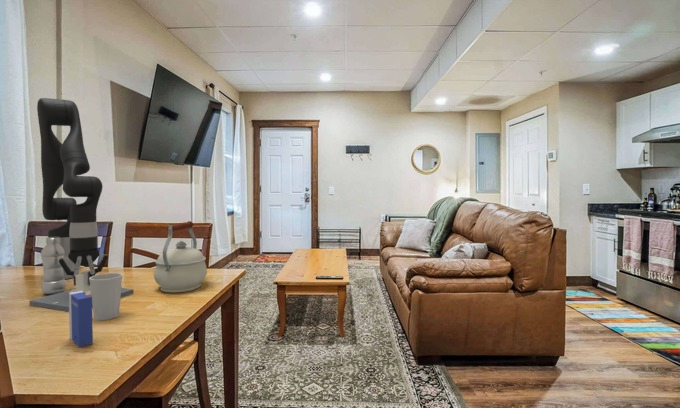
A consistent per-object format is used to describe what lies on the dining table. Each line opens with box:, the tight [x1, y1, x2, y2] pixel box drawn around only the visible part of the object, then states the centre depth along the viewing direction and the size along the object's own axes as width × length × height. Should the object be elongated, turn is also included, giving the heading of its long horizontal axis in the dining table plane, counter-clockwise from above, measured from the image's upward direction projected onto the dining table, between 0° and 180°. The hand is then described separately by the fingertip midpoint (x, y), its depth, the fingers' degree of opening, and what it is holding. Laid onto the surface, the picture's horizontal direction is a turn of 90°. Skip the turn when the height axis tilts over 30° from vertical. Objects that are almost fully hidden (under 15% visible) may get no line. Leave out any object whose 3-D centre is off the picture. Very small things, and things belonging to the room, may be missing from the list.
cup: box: [89, 272, 123, 321], centre depth 99 cm, size 8×8×12 cm
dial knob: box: [69, 269, 91, 296], centre depth 111 cm, size 12×8×8 cm, turn 15°
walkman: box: [68, 291, 94, 348], centre depth 83 cm, size 8×3×12 cm, turn 52°
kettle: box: [153, 220, 208, 294], centre depth 130 cm, size 25×18×25 cm
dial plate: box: [29, 287, 135, 313], centre depth 114 cm, size 20×20×2 cm
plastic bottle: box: [40, 236, 67, 295], centre depth 119 cm, size 6×7×20 cm
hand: (84, 285), depth 114 cm, fingers closed on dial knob, 3 cm apart
